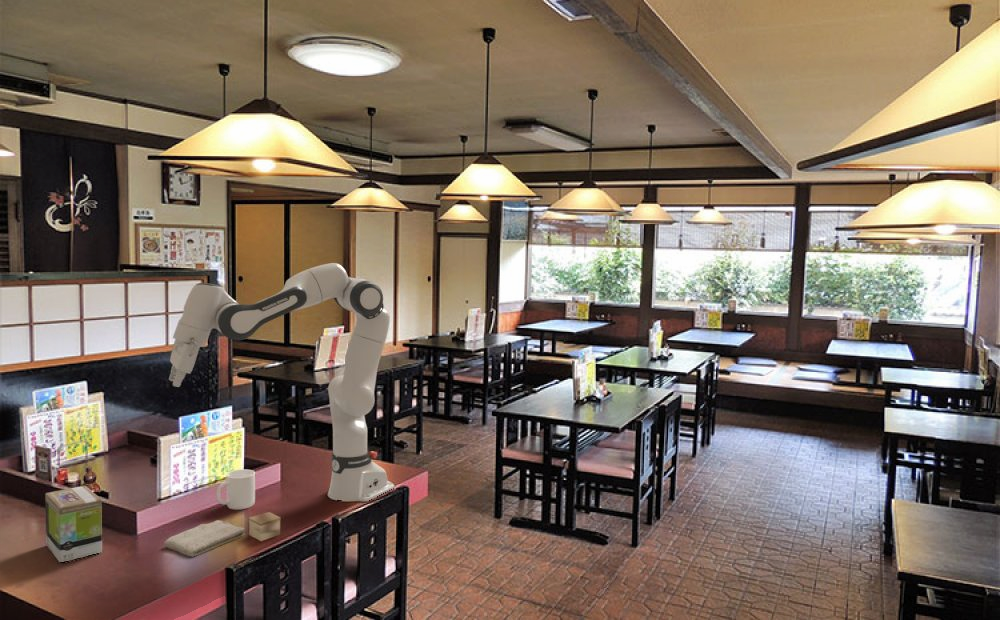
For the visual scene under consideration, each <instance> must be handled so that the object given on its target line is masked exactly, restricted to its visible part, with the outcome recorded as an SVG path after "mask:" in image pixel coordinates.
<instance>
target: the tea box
mask: <svg viewBox="0 0 1000 620" xmlns="http://www.w3.org/2000/svg"><path fill="white" fill-rule="evenodd" d="M44 499H45V500H44V502H45V506H44V507H45V541H46V546H47V547H48V549H49V550H50V551H51V553H52V554H53V556H54V557H55V558H56V559H57V561H58V562H59V563H60V562H64V561H69V560H72V559H76V558H80V557H84V556H88V555H92V554H96V553H99V554H101V553H103V552H102V551H103V539H102V537H103V528H102V527H103V526H102V523H103V520H102V518H103V516H102V509H103V507H102V505H103V504H102V499H101V498H100V496H98V495H97V494H96V493H94V491H92V490H91V489H90V488H89V487H88V486H87V485H81V486H76V487H72V488H71V487H70V488H66V489H61V490H54V491H51V492H46V493H45V498H44ZM100 552H101V553H100ZM96 555H97V554H96ZM92 556H93V555H92ZM69 562H70V561H69Z"/></svg>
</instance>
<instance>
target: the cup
mask: <svg viewBox="0 0 1000 620" xmlns="http://www.w3.org/2000/svg"><path fill="white" fill-rule="evenodd" d="M225 486H226V500H225V499H224V500H223V499H222V497H221V492H222V489H223V487H225ZM216 499H217V502H218V504H221V505H227V507H228V509H230V510H235V511H237V510H246V509H249V508H251V507H253V506H254V505H255V502H256V472H255V470H252V469H247V468H246V469H242V468H241V469H235V470H232V471H229V472H228V473H226V481H222V482H220V483H219V485H218V486H217V490H216Z"/></svg>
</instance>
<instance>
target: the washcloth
mask: <svg viewBox="0 0 1000 620" xmlns="http://www.w3.org/2000/svg"><path fill="white" fill-rule="evenodd" d="M245 531H246V530H245V527H241V526H236V525H234V524H232V523H230V522H227V521H224V520H219V519H217V520H214V521H213V522H210V523H201V524H199V525H197V526H195V527H193V528H190V529H187V530H185V531H182V532H180V533H178V534H174V535H173V536H170V537H169V538H167V539H166V540H165V541H164V543H163V545H164V547H166V548H167V549H169V550H171V551H176V552H178V553H180V554H182V555H185V556H188V557H190V556H191V558H195V557H196V555H197V556H199V555H201V554H204V553H206V552H209V551H210V550H213V549H216V548H218V547H220V546H223V545H225V544H228V543H229V542H232V541H235V540H237V539H239V538H242V537H245V536H246V533H245ZM194 556H195V557H194Z"/></svg>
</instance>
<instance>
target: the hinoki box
mask: <svg viewBox="0 0 1000 620" xmlns="http://www.w3.org/2000/svg"><path fill="white" fill-rule="evenodd" d="M248 520H249V521H248V522H249V523H248V524H249V530H248V532H249V536H250V537H252V538H255V539H257V540H258V541H260V542H263V541H266V540H268V539H271V538H275V537H277V536H280V535H281V516H278V515H276V514H274V513H272V512H270V511H267V512H263V513H261V514H256V515H253V516H251V517H250V516H249V517H248Z"/></svg>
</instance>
